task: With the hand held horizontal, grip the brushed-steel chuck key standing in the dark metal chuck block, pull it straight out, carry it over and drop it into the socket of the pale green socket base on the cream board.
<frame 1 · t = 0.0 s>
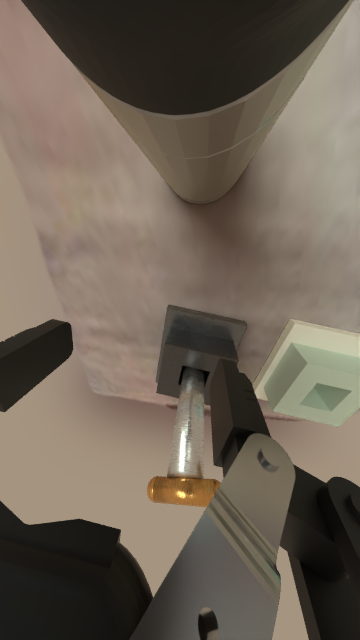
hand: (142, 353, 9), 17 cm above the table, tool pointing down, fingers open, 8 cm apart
chuck block: (195, 352, 30), on the table
chuck key: (194, 358, 29), point 1 cm above the table, touching chuck block
pale green socket base: (302, 367, 28), on the table
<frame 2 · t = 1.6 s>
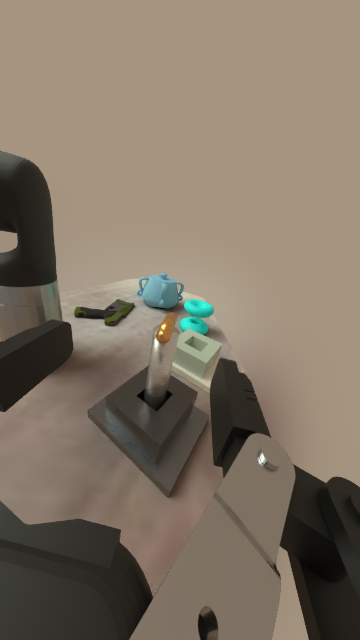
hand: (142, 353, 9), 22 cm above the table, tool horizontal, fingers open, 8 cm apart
donuts: (193, 330, 60), on the table
gun: (107, 312, 61), on the table
decorative pot: (159, 304, 76), on the table
chuck block: (150, 419, 29), on the table
chuck key: (151, 413, 28), point 1 cm above the table, touching chuck block
pale green socket base: (191, 362, 44), on the table
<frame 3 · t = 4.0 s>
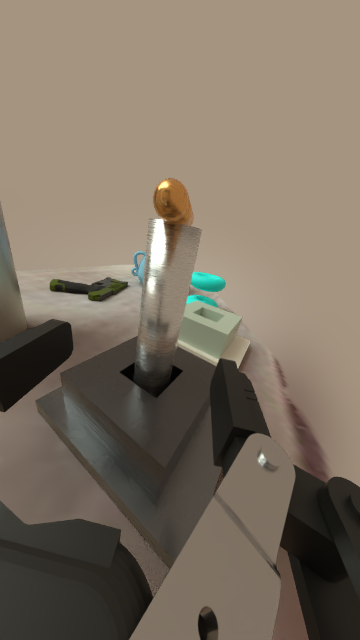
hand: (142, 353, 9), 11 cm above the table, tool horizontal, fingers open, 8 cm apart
donuts: (199, 310, 49), on the table
gun: (93, 289, 50), on the table
decorative pot: (157, 286, 65), on the table
chuck block: (146, 415, 17), on the table
chuck key: (147, 406, 17), point 2 cm above the table, touching chuck block
pale green socket base: (201, 341, 33), on the table
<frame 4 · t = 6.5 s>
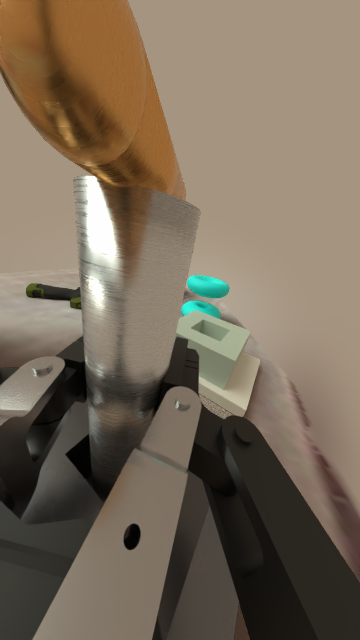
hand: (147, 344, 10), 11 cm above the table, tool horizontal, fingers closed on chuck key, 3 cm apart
donuts: (199, 318, 44), on the table
gun: (80, 294, 44), on the table
chuck block: (119, 495, 12), on the table
chuck key: (120, 484, 11), point 2 cm above the table, touching chuck block, gripper
pale green socket base: (201, 361, 27), on the table
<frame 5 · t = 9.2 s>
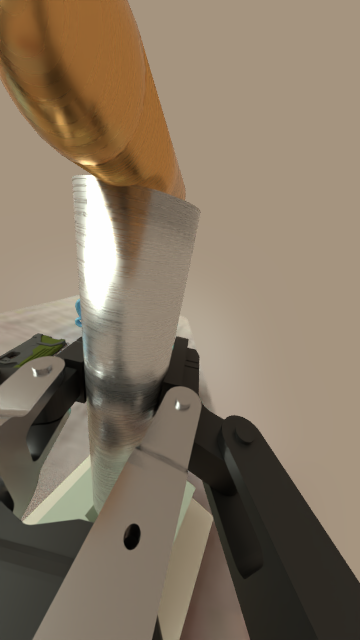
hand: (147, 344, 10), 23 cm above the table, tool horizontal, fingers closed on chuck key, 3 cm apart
gun: (3, 363, 35), on the table
chuck key: (120, 485, 11), point 13 cm above the table, touching gripper
pale green socket base: (121, 529, 18), on the table
when the fingers open (12 cm above the table, at t = 12.0 s): chuck key drops 1 cm, resting on pale green socket base.
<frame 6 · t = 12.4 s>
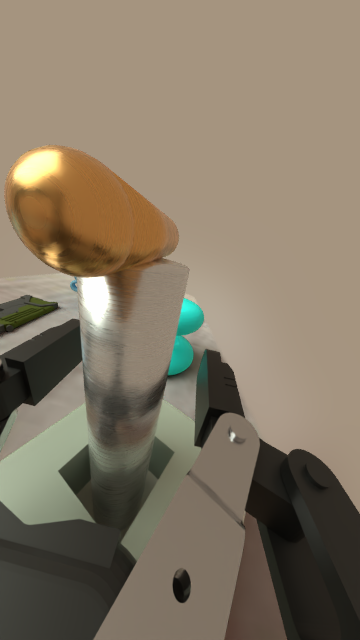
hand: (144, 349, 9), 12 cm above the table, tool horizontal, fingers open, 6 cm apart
donuts: (162, 358, 29), on the table
chuck key: (119, 497, 12), point 2 cm above the table, touching pale green socket base
pale green socket base: (118, 504, 12), on the table
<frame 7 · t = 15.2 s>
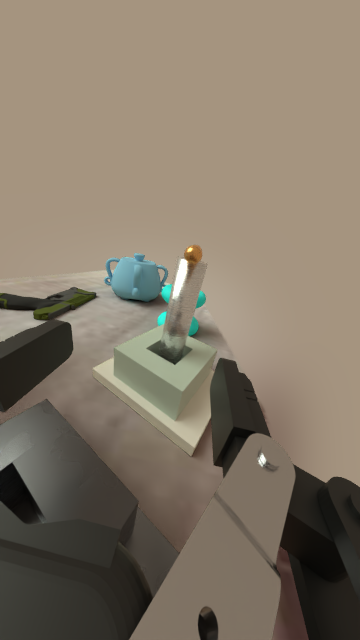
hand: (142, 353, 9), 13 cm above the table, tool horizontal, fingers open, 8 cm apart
donuts: (177, 329, 42), on the table
gun: (51, 303, 43), on the table
decorative pot: (136, 296, 57), on the table
chuck block: (4, 575, 10), on the table
chuck key: (165, 374, 24), point 2 cm above the table, touching pale green socket base
pale green socket base: (163, 381, 25), on the table
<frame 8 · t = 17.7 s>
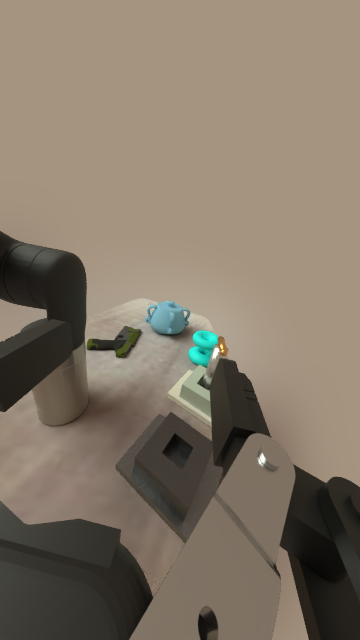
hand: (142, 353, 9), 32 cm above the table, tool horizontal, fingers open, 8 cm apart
donuts: (200, 359, 63), on the table
gun: (116, 341, 64), on the table
decorative pot: (166, 329, 78), on the table
chuck block: (172, 468, 31), on the table
chuck key: (204, 395, 46), point 2 cm above the table, touching pale green socket base
pale green socket base: (202, 398, 47), on the table
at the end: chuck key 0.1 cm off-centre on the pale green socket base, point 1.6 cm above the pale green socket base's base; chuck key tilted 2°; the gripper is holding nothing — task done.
